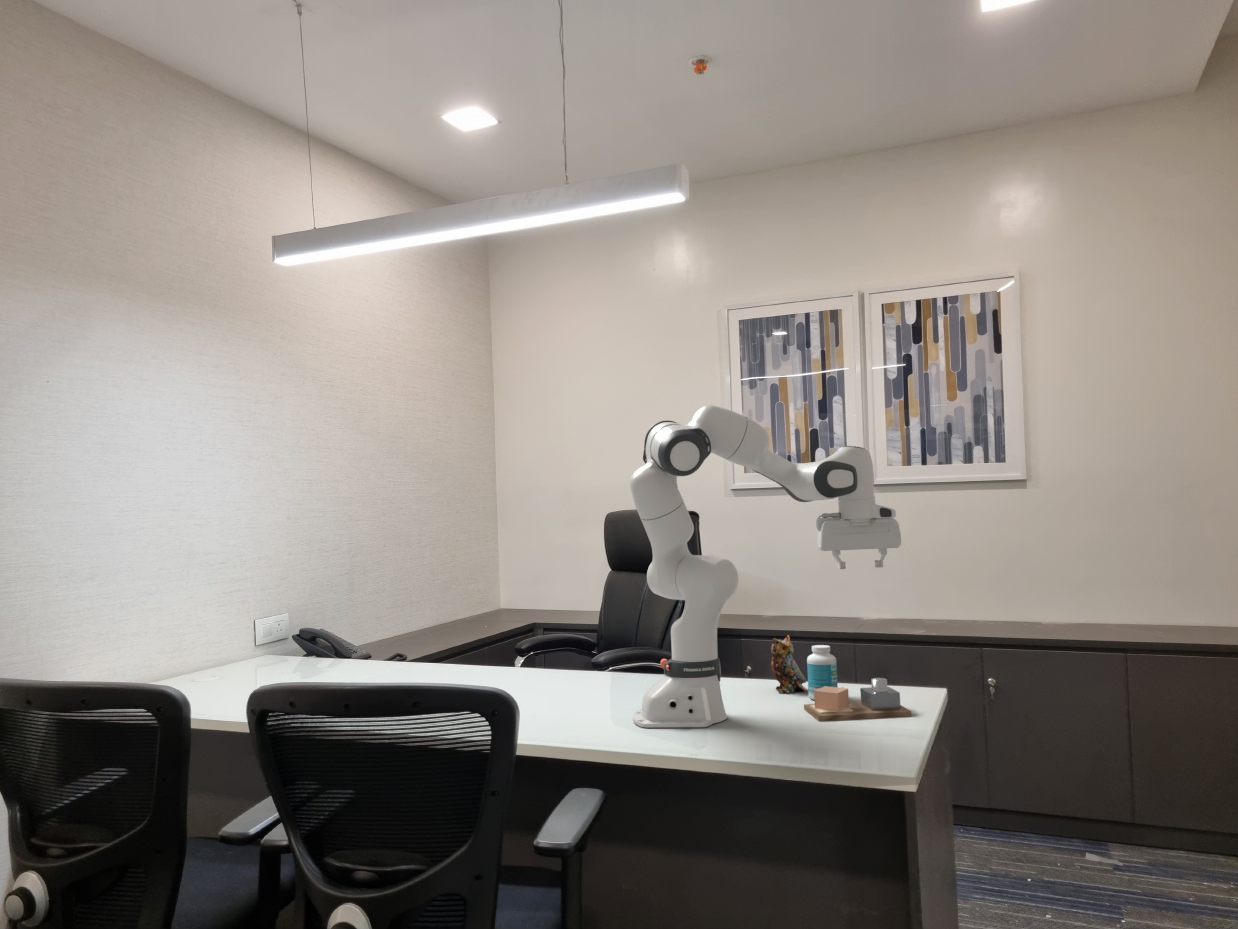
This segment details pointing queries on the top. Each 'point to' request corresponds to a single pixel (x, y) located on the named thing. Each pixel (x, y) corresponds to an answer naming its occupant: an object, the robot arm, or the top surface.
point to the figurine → (786, 667)
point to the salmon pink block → (831, 698)
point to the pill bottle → (821, 669)
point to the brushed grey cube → (880, 696)
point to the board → (854, 712)
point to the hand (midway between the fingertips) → (860, 568)
